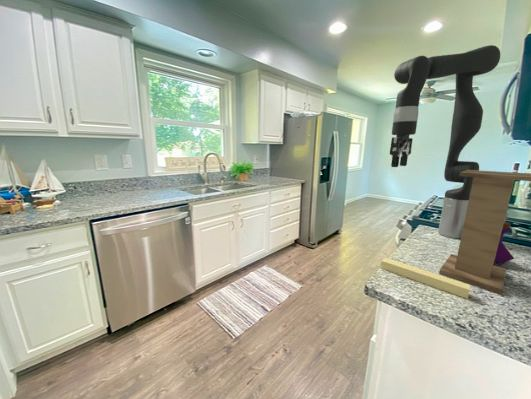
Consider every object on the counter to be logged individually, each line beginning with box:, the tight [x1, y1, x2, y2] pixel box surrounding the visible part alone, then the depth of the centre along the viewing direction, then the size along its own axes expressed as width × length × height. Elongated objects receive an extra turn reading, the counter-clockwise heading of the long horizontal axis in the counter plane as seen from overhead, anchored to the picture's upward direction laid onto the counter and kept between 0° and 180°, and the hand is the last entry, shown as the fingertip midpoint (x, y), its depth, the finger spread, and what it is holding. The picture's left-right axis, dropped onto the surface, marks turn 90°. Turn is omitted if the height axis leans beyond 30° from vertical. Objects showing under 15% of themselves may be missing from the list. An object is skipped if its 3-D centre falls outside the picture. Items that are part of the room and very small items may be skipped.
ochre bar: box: [380, 257, 471, 300], centre depth 69 cm, size 3×22×3 cm, turn 44°
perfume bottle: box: [494, 211, 515, 265], centre depth 79 cm, size 8×8×18 cm
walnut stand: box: [438, 169, 531, 295], centre depth 69 cm, size 16×14×32 cm
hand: (398, 166), depth 85 cm, fingers open, 8 cm apart
